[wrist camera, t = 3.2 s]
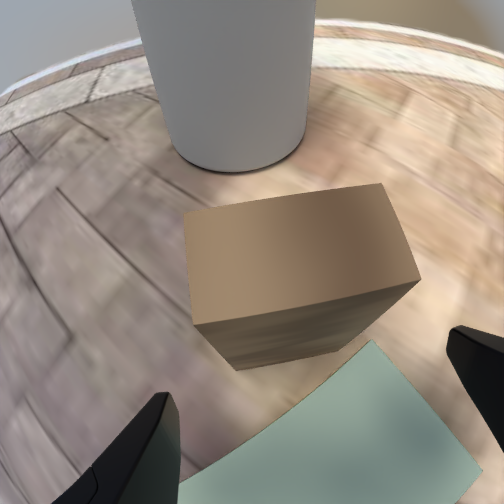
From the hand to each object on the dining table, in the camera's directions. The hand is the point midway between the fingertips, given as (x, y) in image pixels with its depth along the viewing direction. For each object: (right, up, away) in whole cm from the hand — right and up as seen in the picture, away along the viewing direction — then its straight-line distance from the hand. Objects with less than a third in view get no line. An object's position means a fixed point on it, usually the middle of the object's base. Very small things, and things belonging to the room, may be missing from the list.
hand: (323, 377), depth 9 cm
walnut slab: (0, -2, +11) cm, 11 cm away
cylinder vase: (-3, +15, +20) cm, 25 cm away
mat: (+3, -11, +6) cm, 13 cm away
